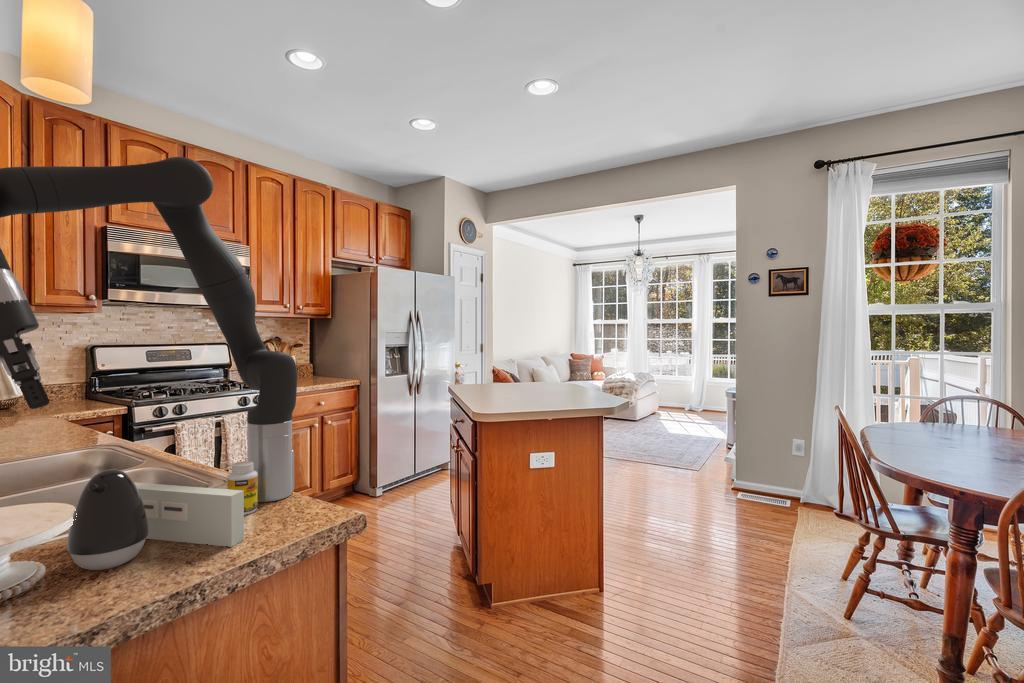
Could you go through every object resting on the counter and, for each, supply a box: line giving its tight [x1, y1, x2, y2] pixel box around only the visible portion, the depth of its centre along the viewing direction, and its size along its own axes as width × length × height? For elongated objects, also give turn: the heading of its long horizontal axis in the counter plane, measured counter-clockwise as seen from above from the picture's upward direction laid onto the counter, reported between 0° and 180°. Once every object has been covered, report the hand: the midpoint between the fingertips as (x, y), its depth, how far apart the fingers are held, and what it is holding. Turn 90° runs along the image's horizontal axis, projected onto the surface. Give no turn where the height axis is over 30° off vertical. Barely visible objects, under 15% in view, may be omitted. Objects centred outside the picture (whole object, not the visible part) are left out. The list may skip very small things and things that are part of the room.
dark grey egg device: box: [66, 468, 148, 571], centre depth 79 cm, size 10×10×15 cm
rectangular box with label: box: [133, 481, 245, 548], centre depth 89 cm, size 3×26×9 cm, turn 80°
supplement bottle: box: [226, 460, 258, 516], centre depth 102 cm, size 6×6×10 cm
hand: (41, 406), depth 75 cm, fingers open, 8 cm apart
